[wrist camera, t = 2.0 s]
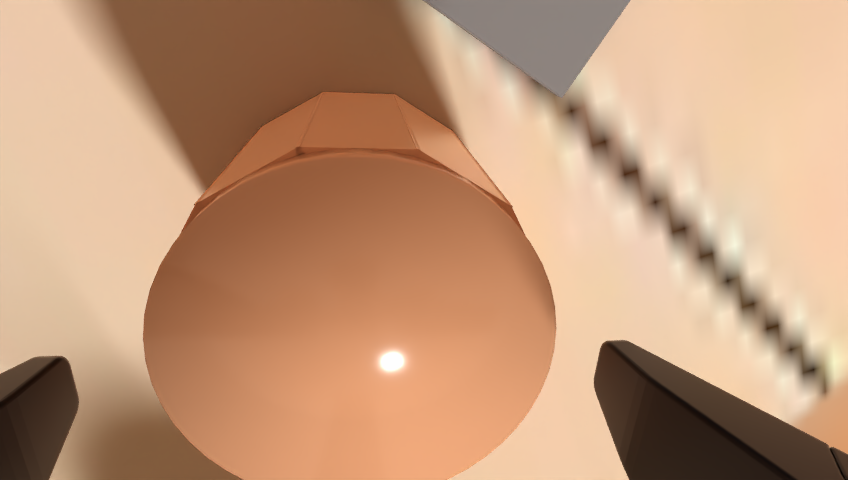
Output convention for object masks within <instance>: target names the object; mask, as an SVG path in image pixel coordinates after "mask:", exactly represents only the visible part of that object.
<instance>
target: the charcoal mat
mask: <svg viewBox="0 0 848 480" xmlns="http://www.w3.org/2000/svg"><path fill="white" fill-rule="evenodd" d="M423 1H424V2H426V3H427V4H429V5H430V6H432V7H433V8H434V9H436V10H437V11H439V12H440V13H441V14H443V15H444V16H446V17H447V18H448V19H450V20H451V21H453V22H454V23H455V24H457V25H458V26H460V27H461V28H462V29H464V30H465V31H467V32H468V33H469V34H471V35H472V36H474V37H475V38H476V39H478V40H479V41H481V42H482V43H483V44H485V45H486V46H488V47H489V48H490V49H492V50H493V51H495V52H496V53H497V54H499V55H500V56H502V57H503V58H505V59H506V60H507V61H509V62H510V63H512V64H513V65H514V66H516V67H517V68H519V69H520V70H521V71H523V72H524V73H526V74H527V75H528V76H530V77H531V78H533V79H534V80H535V81H537V82H538V83H540V84H541V85H542V86H544V87H545V88H547V89H548V90H549V91H551V92H552V93H554V94H555V95H556V96H558V97H561V98H562V97H563V96H564V94H565V93H566V92H567V90H568V89H569V87H570V86H571V84H572V83H573V82H574V80H575V79H576V77H577V76H578V74H579V73H580V72H581V70H582V69H583V67H584V66H585V64H586V63H587V62H588V60H589V59H590V57H591V56H592V54H593V53H594V52H595V50H596V49H597V47H598V46H599V44H600V43H601V42H602V40H603V39H604V37H605V36H606V34H607V33H608V32H609V30H610V29H611V27H612V26H613V24H614V23H615V22H616V20H617V19H618V17H619V16H620V14H621V13H622V12H623V10H624V9H625V7H626V6H627V4H628V3H629V2H630V0H423Z"/></svg>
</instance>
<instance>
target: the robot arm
mask: <svg viewBox="0 0 848 480" xmlns="http://www.w3.org/2000/svg"><path fill="white" fill-rule="evenodd" d="M594 388H595V392H596V395H597V398H598V400H599V403H600V406H601V408H602V411H603V414H604V417H605V419H606V422H607V425H608V427H609V430H610V433H611V436H612V438H613V441H614V444H615V446H616V449H617V452H618V455H619V457H620V460H621V462H622V465H623V467H624V469H625V471H626V473H627V476H628V478H629V480H848V454H846V453H844V452H842V451H840V450H838V449H836V448H834V447H831V448H829V446H828V445H827V444H826V443H824V442H822V441H820V440H818V439H817V438H815V437H813V436H810V435H809V434H807V433H805V432H803V431H801V430H799V429H797V428H795V427H793V426H791V425H789V424H788V423H786V422H784V421H782V420H780V419H778V418H776V417H774V416H772V415H770V414H768V413H766V412H764V411H762V410H760V409H758V408H757V407H755V406H753V405H751V404H749V403H747V402H745V401H743V400H741V399H739V398H737V397H735V396H733V395H731V394H729V393H727V392H726V391H724V390H722V389H720V388H718V387H716V386H714V385H712V384H710V383H708V382H706V381H704V380H702V379H700V378H698V377H696V376H695V375H693V374H691V373H689V372H687V371H685V370H683V369H681V368H679V367H677V366H675V365H673V364H671V363H669V362H667V361H666V360H664V359H662V358H660V357H658V356H656V355H654V354H652V353H650V352H648V351H646V350H644V349H642V348H640V347H638V346H636V345H635V344H633V343H631V342H629V341H625V340H616V341H605V342H604V343H603V344H602V346H601V348H600V352H599V357H598V362H597V366H596V371H595V376H594ZM78 405H79V398H78V393H77V389H76V385H75V382H74V378H73V374H72V370H71V366H70V364H69V361H68V360H67V359H66V358H65V357H63V356H41V357H34V358H32V359H30V360H28V361H26V362H24V363H22V364H20V365H18V366H15V367H13V368H11V369H9V370H7V371H5V372H3V373H1V374H0V480H49V478H50V476H51V473H52V471H53V469H54V466H55V464H56V461H57V459H58V457H59V454H60V452H61V449H62V447H63V445H64V442H65V440H66V438H67V435H68V433H69V430H70V428H71V426H72V423H73V421H74V418H75V416H76V414H77V410H78Z"/></svg>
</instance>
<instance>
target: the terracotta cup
mask: <svg viewBox="0 0 848 480" xmlns="http://www.w3.org/2000/svg"><path fill="white" fill-rule="evenodd" d="M194 205H195V206H194V208H193V210H192V212H191V214H190V216H189V218H188V220H187V222H186V224H185V226H184V228H183V230H182V232H181V234H180V236H179V237H178V238H177V240H176V241H175V242H174V243H173V245H172V247H171V248H170V250H169V252H168V253H167V255H166V256H165V258H164V260H163V261H162V263H161V265H160V266H159V269H158V271H157V274H156V276H155V279H154V281H153V283H152V286H151V288H150V292H149V296H148V300H147V305H146V309H145V314H144V331H143V342H144V351H145V360H146V365H147V368H148V372H149V375H150V379H151V382H152V385H153V387H154V390H155V392H156V394H157V396H158V398H159V401H160V403H161V405H162V406H163V408H164V410H165V411H166V413H167V414H168V416H169V417H170V419H171V420H172V422H173V423H174V425H175V426H176V427H177V428H178V429H179V431H180V432H181V433H182V434H183V435H184V436H185V437H186V439H187V440H188V441H189V442H190V443H191V444H192V445H193V446H195V447H196V448H197V449H198V450H199V451H200V452H201V453H203V454H204V455H205V456H206V457H207V458H209V459H210V460H212V461H213V462H214V463H216V464H217V465H219V466H220V467H222V468H223V469H225V470H226V471H228V472H230V473H232V474H234V475H236V476H238V477H239V478H241V479H243V480H448V479H449V478H451V477H453V476H455V475H457V474H459V473H461V472H463V471H464V470H466V469H468V468H470V467H471V466H473V465H474V464H475V463H477V462H478V461H480V460H481V459H483V458H484V457H486V456H487V455H488V454H489V453H491V452H492V451H493V450H494V449H495V448H497V447H498V446H499V445H500V444H501V443H503V442H504V440H505V439H506V438H507V437H508V436H509V435H510V434H511V433H512V432H513V431H514V430H515V429H516V428H517V427H518V425H519V424H520V423H521V421H522V420H523V419H524V417H525V416H526V415H527V413H528V412H529V411H530V409H531V408H532V406H533V404H534V402H535V400H536V399H537V397H538V395H539V393H540V392H541V389H542V387H543V384H544V382H545V379H546V377H547V375H548V372H549V369H550V365H551V361H552V357H553V352H554V346H555V335H556V317H555V305H554V300H553V295H552V291H551V286H550V283H549V280H548V278H547V275H546V272H545V270H544V267H543V264H542V262H541V261H540V259H539V257H538V255H537V254H536V252H535V250H534V248H533V246H532V245H531V243H530V242H529V240H528V239H527V237H526V236H525V234H524V232H523V230H522V228H521V225H520V223H519V221H518V219H517V217H516V215H515V213H514V211H513V209H512V207H513V206H512V205H511V204H510V203H509V201H508V200H507V199H506V198H505V196H504V195H503V194H502V192H501V191H500V190H499V189H498V187H497V186H496V185H495V184H494V182H493V181H492V180H491V179H490V177H489V176H488V175H487V173H486V172H485V171H484V170H483V168H482V167H481V166H480V165H479V163H478V162H477V161H476V160H475V158H474V157H473V156H472V155H471V153H470V152H469V151H468V149H467V148H466V147H465V146H464V144H463V143H462V142H461V141H460V139H459V138H458V137H457V136H456V134H455V133H454V132H453V131H452V130H450V129H449V128H447V127H446V126H444V125H442V124H441V123H439V122H438V121H436V120H435V119H433V118H431V117H430V116H428V115H427V114H425V113H424V112H422V111H420V110H419V109H417V108H416V107H414V106H413V105H411V104H409V103H408V102H406V101H405V100H403V99H402V98H400V97H398V96H397V95H396V94H375V93H345V92H325V91H324V92H322V93H320V94H319V95H317V96H315V97H313V98H312V99H310V100H308V101H306V102H304V103H303V104H301V105H299V106H297V107H296V108H294V109H292V110H290V111H288V112H287V113H285V114H283V115H281V116H280V117H278V118H276V119H274V120H272V121H271V122H269V123H267V124H265V125H263V126H262V127H261V128H260V129H259V130H258V131H257V132H256V134H255V135H254V136H253V137H252V138H251V139H250V140H249V142H248V143H247V144H246V145H245V146H244V147H243V149H242V150H241V151H240V152H239V153H238V154H237V155H236V157H235V158H234V159H233V160H232V161H231V162H230V164H229V165H228V166H227V167H226V168H225V169H224V170H223V172H222V173H221V174H220V175H219V176H218V177H217V179H216V180H215V181H214V182H213V183H212V184H211V185H210V187H209V188H208V189H207V190H206V191H205V192H204V194H203V195H202V196H201V197H200V198H199V199H198V201H197V202H196V203H195V204H194Z"/></svg>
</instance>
